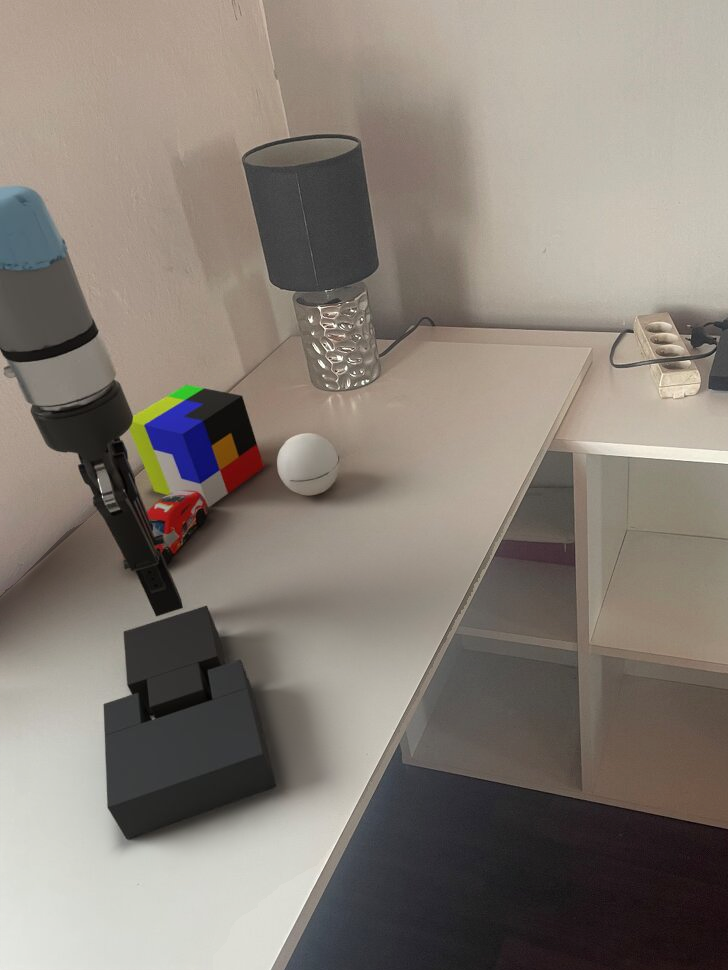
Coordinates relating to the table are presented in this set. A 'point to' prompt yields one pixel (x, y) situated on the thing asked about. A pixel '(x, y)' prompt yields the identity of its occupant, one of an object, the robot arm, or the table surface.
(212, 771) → the notch pad
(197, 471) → the puzzle toy
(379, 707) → the table surface
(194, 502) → the race car
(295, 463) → the white sphere
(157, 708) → the tongue pad
